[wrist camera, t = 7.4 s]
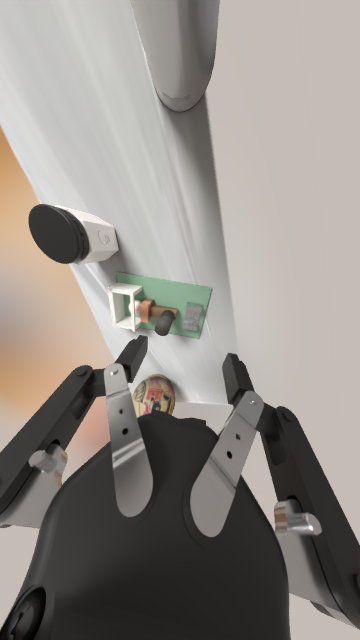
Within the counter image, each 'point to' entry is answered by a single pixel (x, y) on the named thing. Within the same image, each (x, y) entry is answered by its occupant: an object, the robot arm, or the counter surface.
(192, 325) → the bracket
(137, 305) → the ball
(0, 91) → the counter surface
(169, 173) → the counter surface
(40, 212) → the jar
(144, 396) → the ceramic jug
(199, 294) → the pitch mat
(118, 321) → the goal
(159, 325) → the wooden peg with knob
